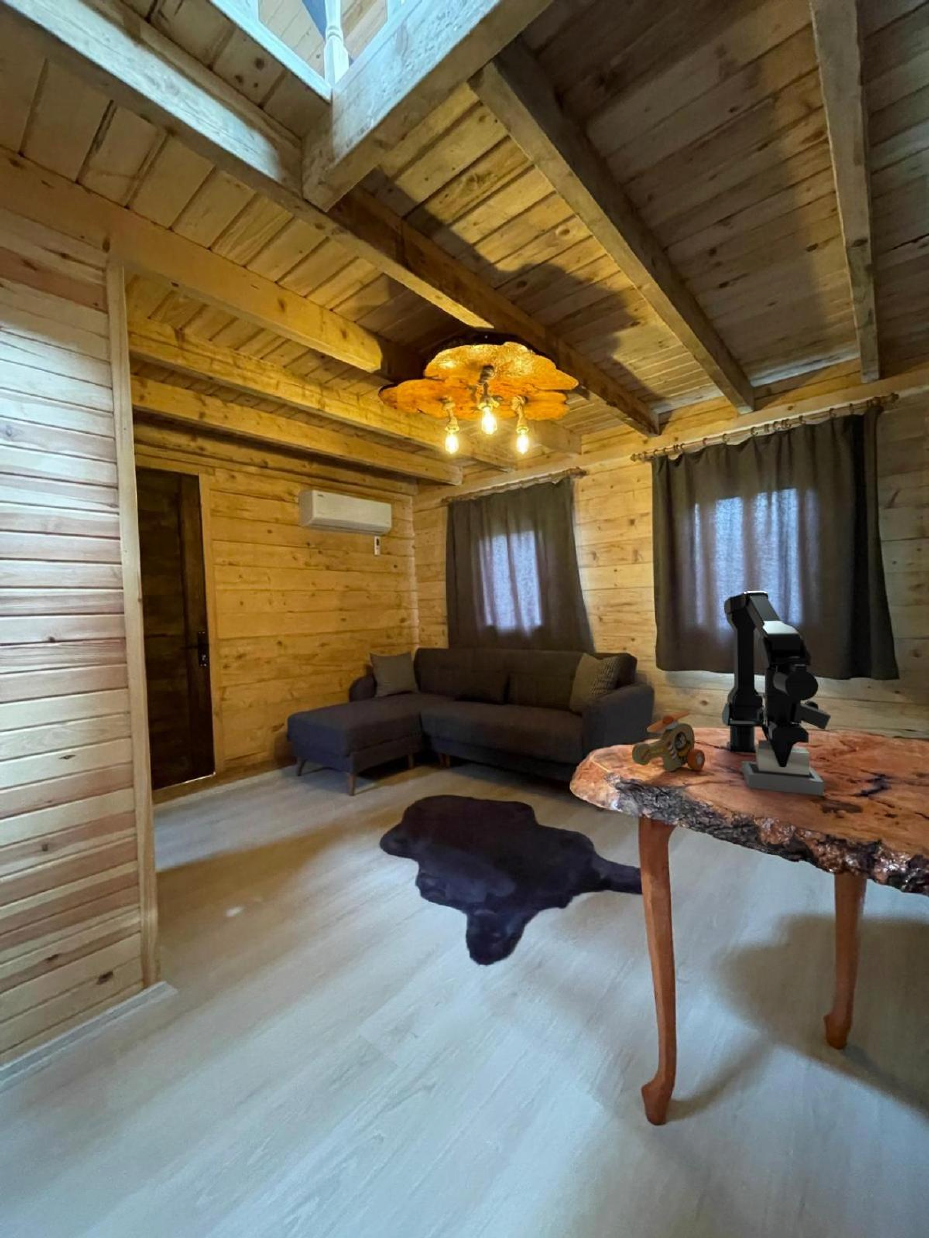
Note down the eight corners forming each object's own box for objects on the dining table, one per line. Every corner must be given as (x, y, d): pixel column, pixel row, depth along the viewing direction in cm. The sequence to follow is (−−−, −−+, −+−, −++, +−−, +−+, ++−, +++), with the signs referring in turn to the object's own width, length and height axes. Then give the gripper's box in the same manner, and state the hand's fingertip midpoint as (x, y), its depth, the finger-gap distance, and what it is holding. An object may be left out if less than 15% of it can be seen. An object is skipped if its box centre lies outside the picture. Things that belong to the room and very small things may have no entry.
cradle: (742, 772, 114) (742, 760, 113) (810, 779, 109) (810, 766, 109) (749, 787, 105) (749, 774, 105) (823, 795, 100) (823, 781, 100)
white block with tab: (755, 764, 110) (755, 737, 110) (804, 768, 107) (804, 741, 107) (759, 770, 106) (759, 742, 106) (809, 774, 103) (809, 746, 103)
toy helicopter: (708, 767, 117) (708, 709, 117) (651, 787, 106) (651, 723, 106) (677, 758, 124) (676, 703, 124) (620, 776, 113) (619, 716, 113)
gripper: (841, 701, 94) (840, 783, 95) (813, 684, 112) (813, 754, 112) (772, 698, 98) (772, 777, 99) (756, 682, 116) (756, 749, 116)
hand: (780, 763), depth 107 cm, fingers closed on white block with tab, 4 cm apart
